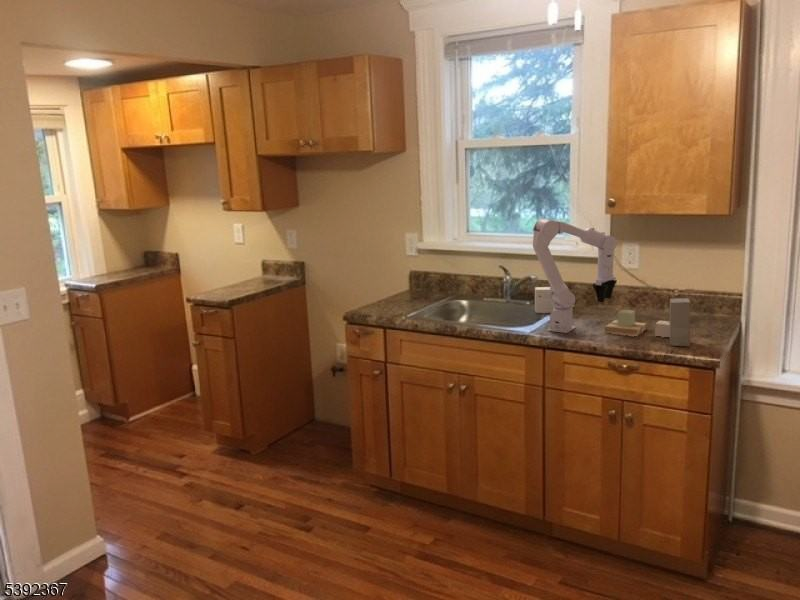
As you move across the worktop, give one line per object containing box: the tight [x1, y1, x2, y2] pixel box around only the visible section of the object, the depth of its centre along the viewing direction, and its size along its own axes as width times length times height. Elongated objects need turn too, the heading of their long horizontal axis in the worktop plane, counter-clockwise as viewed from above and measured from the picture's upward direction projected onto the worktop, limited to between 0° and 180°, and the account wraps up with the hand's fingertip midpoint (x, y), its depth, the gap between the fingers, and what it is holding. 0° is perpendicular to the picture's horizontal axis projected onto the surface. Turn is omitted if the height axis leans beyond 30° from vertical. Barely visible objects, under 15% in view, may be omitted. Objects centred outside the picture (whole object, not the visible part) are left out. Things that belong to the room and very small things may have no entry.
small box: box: [534, 286, 554, 314], centre depth 282 cm, size 8×6×10 cm
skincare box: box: [668, 297, 691, 348], centre depth 227 cm, size 8×7×16 cm
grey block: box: [654, 320, 670, 338], centre depth 239 cm, size 5×5×5 cm
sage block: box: [617, 309, 636, 326], centre depth 247 cm, size 5×5×5 cm
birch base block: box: [604, 319, 647, 337], centre depth 247 cm, size 12×12×3 cm
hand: (604, 300), depth 254 cm, fingers open, 7 cm apart
